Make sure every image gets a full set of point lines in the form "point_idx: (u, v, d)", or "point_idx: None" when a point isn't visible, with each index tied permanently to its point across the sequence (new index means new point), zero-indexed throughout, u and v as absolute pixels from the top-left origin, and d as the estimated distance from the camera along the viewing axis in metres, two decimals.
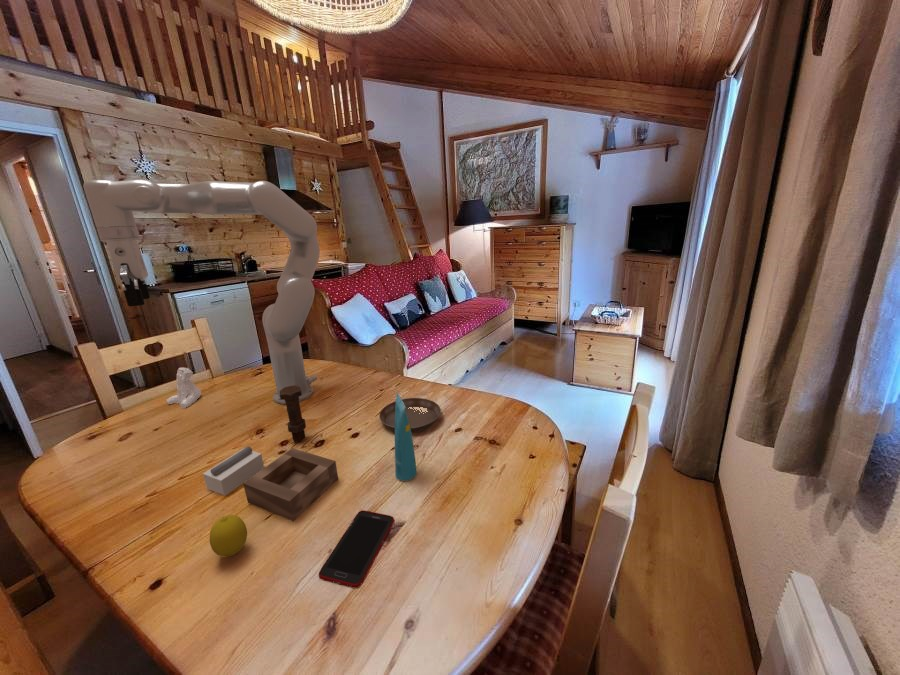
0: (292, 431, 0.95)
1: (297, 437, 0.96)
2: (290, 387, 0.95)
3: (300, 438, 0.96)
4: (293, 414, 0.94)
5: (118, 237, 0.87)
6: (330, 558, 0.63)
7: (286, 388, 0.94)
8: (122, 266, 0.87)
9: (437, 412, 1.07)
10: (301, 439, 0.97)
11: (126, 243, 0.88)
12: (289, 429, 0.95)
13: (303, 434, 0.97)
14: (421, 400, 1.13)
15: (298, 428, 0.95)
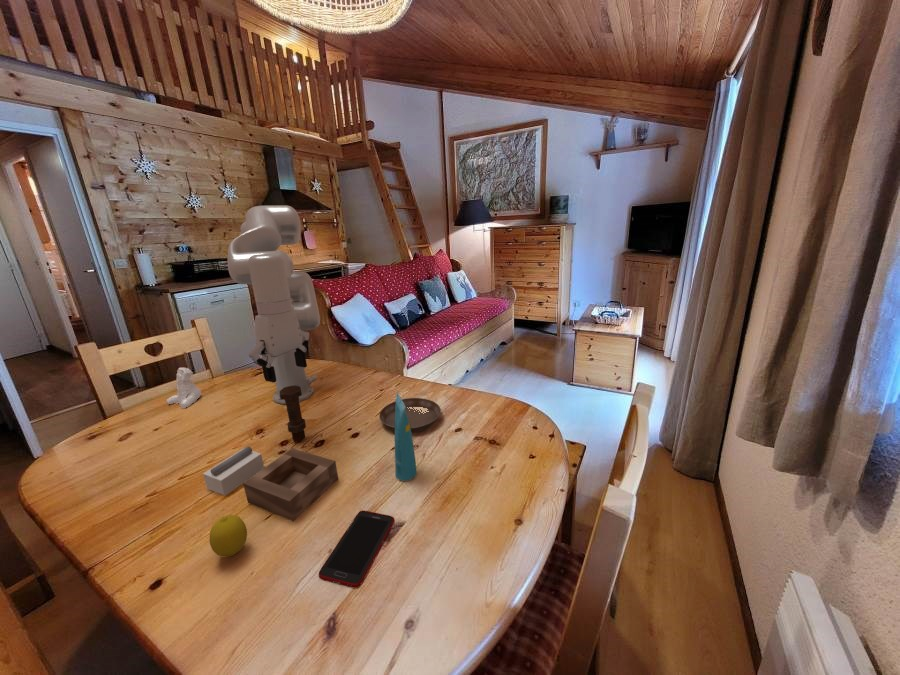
0: (292, 431, 0.95)
1: (297, 437, 0.96)
2: (290, 387, 0.95)
3: (300, 438, 0.96)
4: (293, 414, 0.94)
5: None
6: (329, 557, 0.63)
7: (286, 388, 0.94)
8: None
9: (437, 412, 1.07)
10: (301, 439, 0.97)
11: None
12: (289, 429, 0.95)
13: (303, 434, 0.97)
14: (421, 400, 1.13)
15: (298, 428, 0.95)
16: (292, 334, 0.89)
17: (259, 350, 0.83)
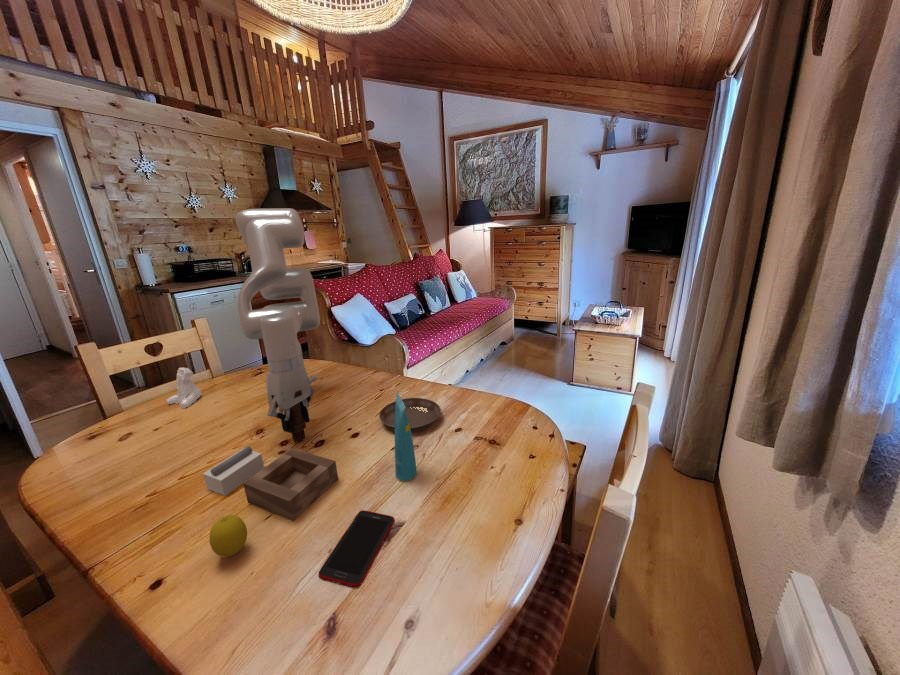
0: None
1: (297, 437, 0.96)
2: None
3: (300, 438, 0.96)
4: (293, 414, 0.94)
5: None
6: (329, 557, 0.63)
7: None
8: None
9: (437, 412, 1.07)
10: (301, 439, 0.97)
11: None
12: None
13: (303, 434, 0.97)
14: (421, 400, 1.13)
15: (298, 428, 0.95)
16: (301, 386, 0.94)
17: (275, 408, 0.89)
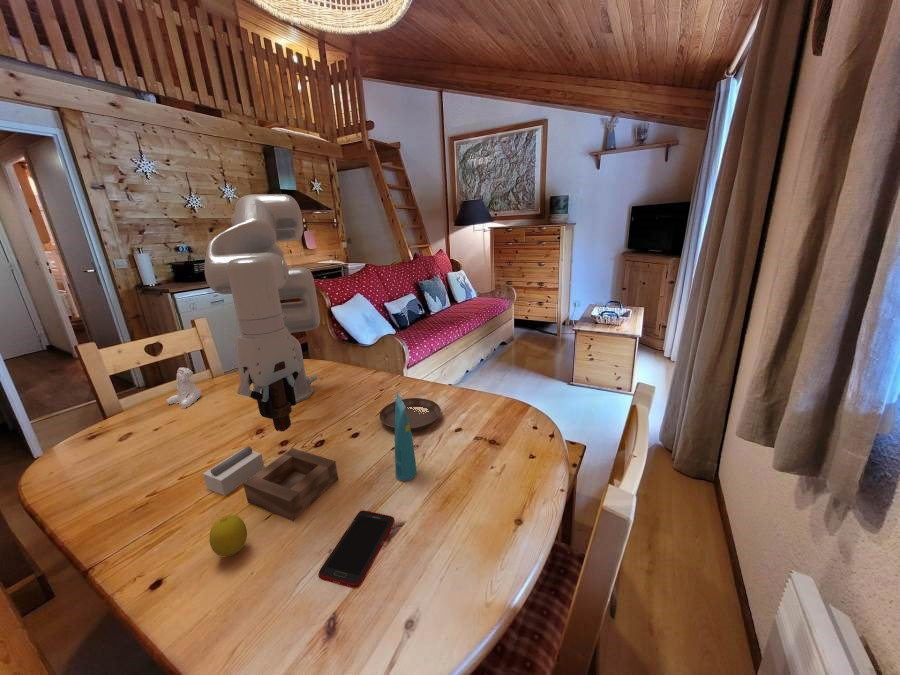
0: None
1: (280, 424, 0.73)
2: None
3: (284, 426, 0.74)
4: (274, 393, 0.71)
5: None
6: (329, 557, 0.63)
7: None
8: None
9: (437, 412, 1.07)
10: (285, 427, 0.74)
11: None
12: None
13: (288, 421, 0.74)
14: (421, 400, 1.13)
15: (281, 412, 0.72)
16: (285, 357, 0.71)
17: (248, 384, 0.66)
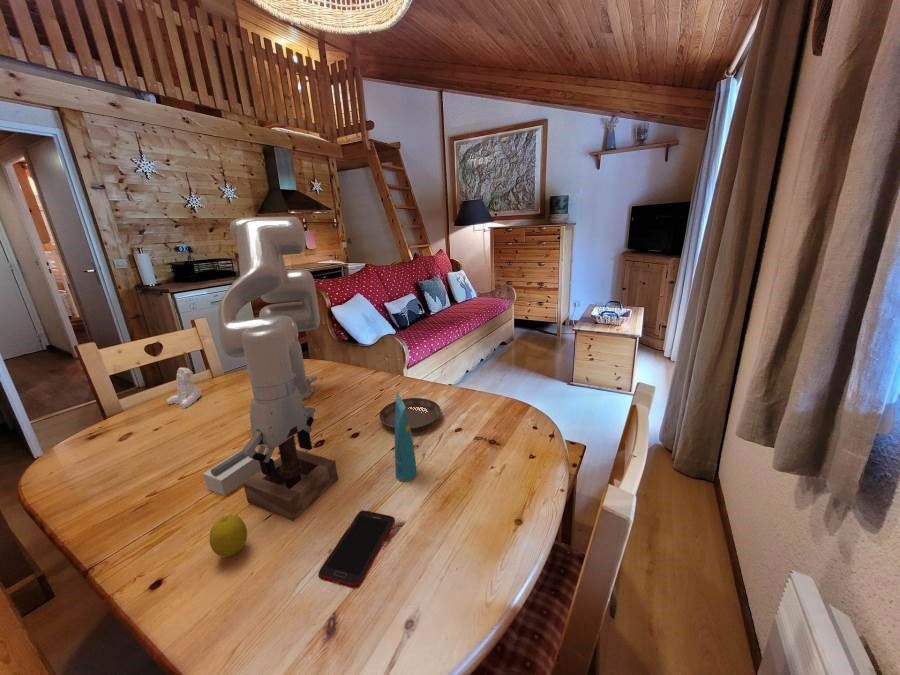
0: (285, 476, 0.76)
1: (291, 484, 0.77)
2: None
3: None
4: (287, 456, 0.75)
5: None
6: (329, 557, 0.63)
7: None
8: None
9: (437, 412, 1.07)
10: None
11: None
12: (281, 474, 0.76)
13: (299, 479, 0.79)
14: (421, 400, 1.13)
15: (293, 473, 0.76)
16: (295, 416, 0.74)
17: (255, 444, 0.68)
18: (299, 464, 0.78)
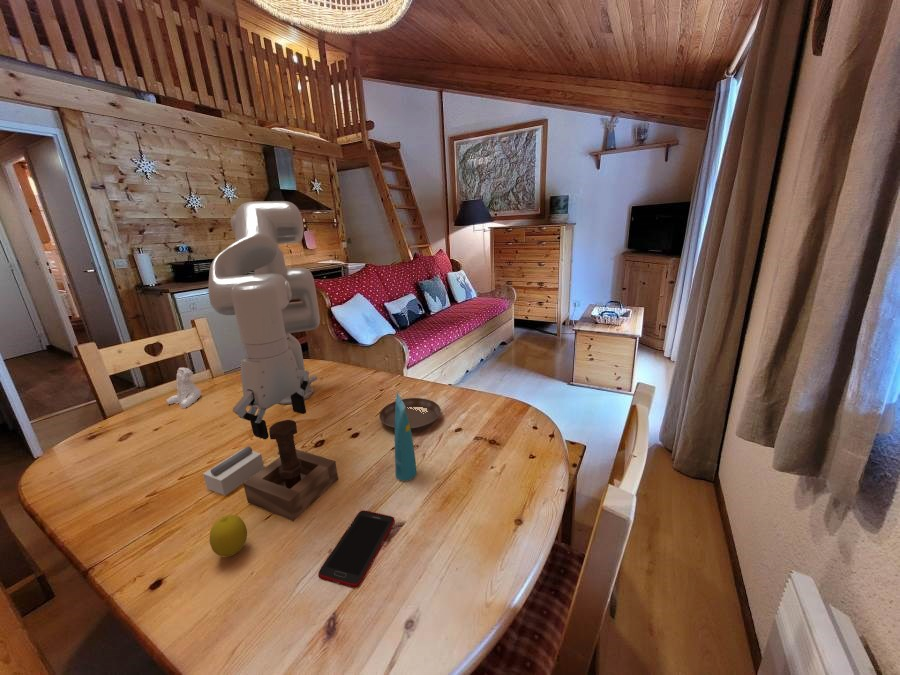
0: (285, 477, 0.76)
1: (291, 484, 0.77)
2: (283, 422, 0.76)
3: None
4: (286, 456, 0.75)
5: None
6: (329, 557, 0.63)
7: (278, 424, 0.75)
8: None
9: (437, 412, 1.07)
10: None
11: None
12: (281, 475, 0.76)
13: (299, 479, 0.79)
14: (421, 400, 1.13)
15: (293, 473, 0.76)
16: (288, 378, 0.72)
17: (246, 403, 0.66)
18: (299, 464, 0.78)
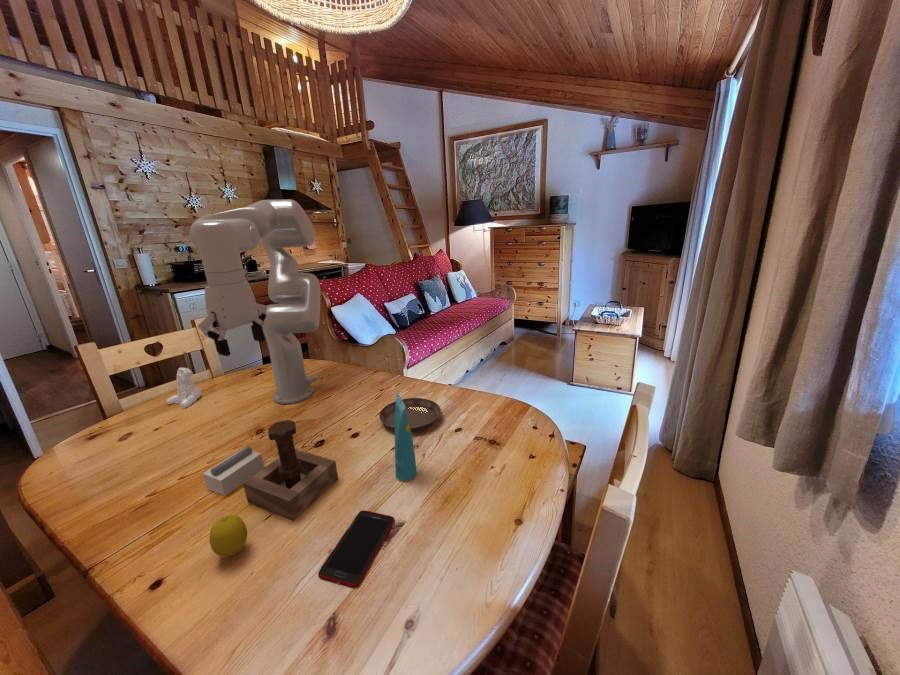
0: (285, 477, 0.76)
1: (291, 484, 0.77)
2: (282, 423, 0.76)
3: None
4: (286, 457, 0.75)
5: None
6: (329, 557, 0.63)
7: (277, 424, 0.75)
8: None
9: (437, 412, 1.07)
10: None
11: None
12: (281, 475, 0.76)
13: (299, 479, 0.79)
14: (421, 400, 1.13)
15: (292, 474, 0.76)
16: (247, 306, 0.86)
17: (209, 322, 0.80)
18: (298, 464, 0.78)
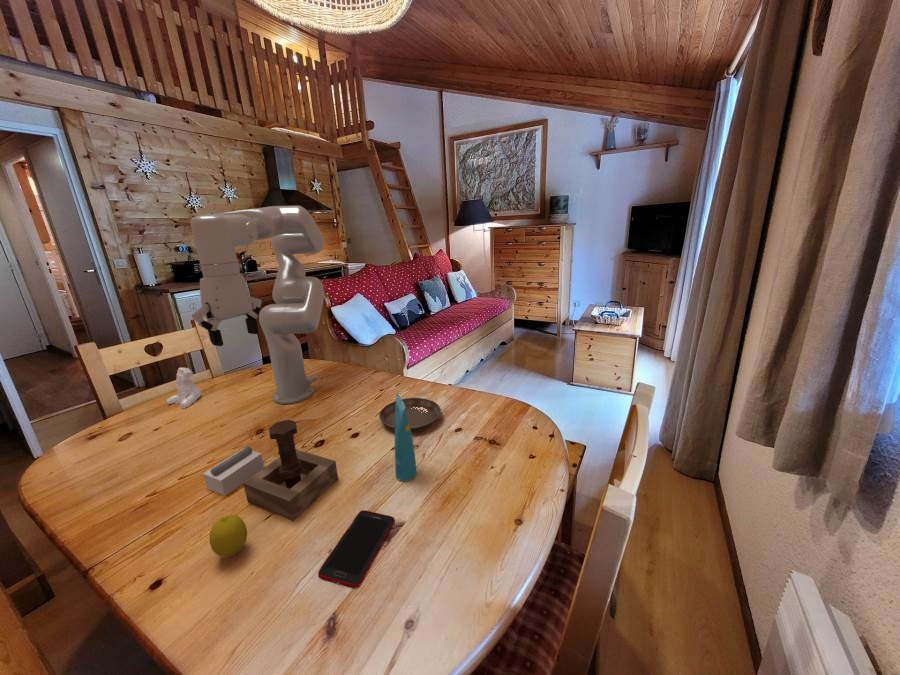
0: (285, 477, 0.76)
1: (291, 484, 0.77)
2: (283, 422, 0.76)
3: None
4: (286, 456, 0.75)
5: None
6: (329, 557, 0.63)
7: (278, 424, 0.75)
8: (249, 296, 0.93)
9: (437, 412, 1.07)
10: None
11: None
12: (281, 475, 0.76)
13: (299, 479, 0.79)
14: (421, 400, 1.13)
15: (293, 473, 0.76)
16: (240, 298, 0.89)
17: (203, 312, 0.83)
18: (299, 464, 0.78)
